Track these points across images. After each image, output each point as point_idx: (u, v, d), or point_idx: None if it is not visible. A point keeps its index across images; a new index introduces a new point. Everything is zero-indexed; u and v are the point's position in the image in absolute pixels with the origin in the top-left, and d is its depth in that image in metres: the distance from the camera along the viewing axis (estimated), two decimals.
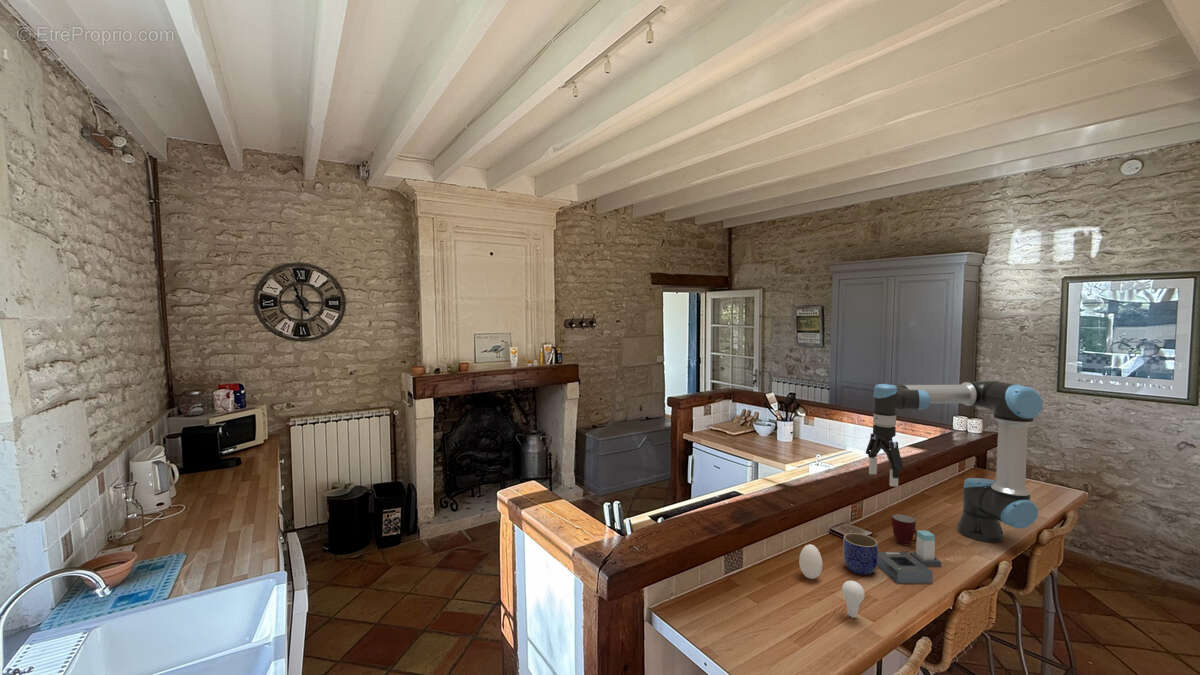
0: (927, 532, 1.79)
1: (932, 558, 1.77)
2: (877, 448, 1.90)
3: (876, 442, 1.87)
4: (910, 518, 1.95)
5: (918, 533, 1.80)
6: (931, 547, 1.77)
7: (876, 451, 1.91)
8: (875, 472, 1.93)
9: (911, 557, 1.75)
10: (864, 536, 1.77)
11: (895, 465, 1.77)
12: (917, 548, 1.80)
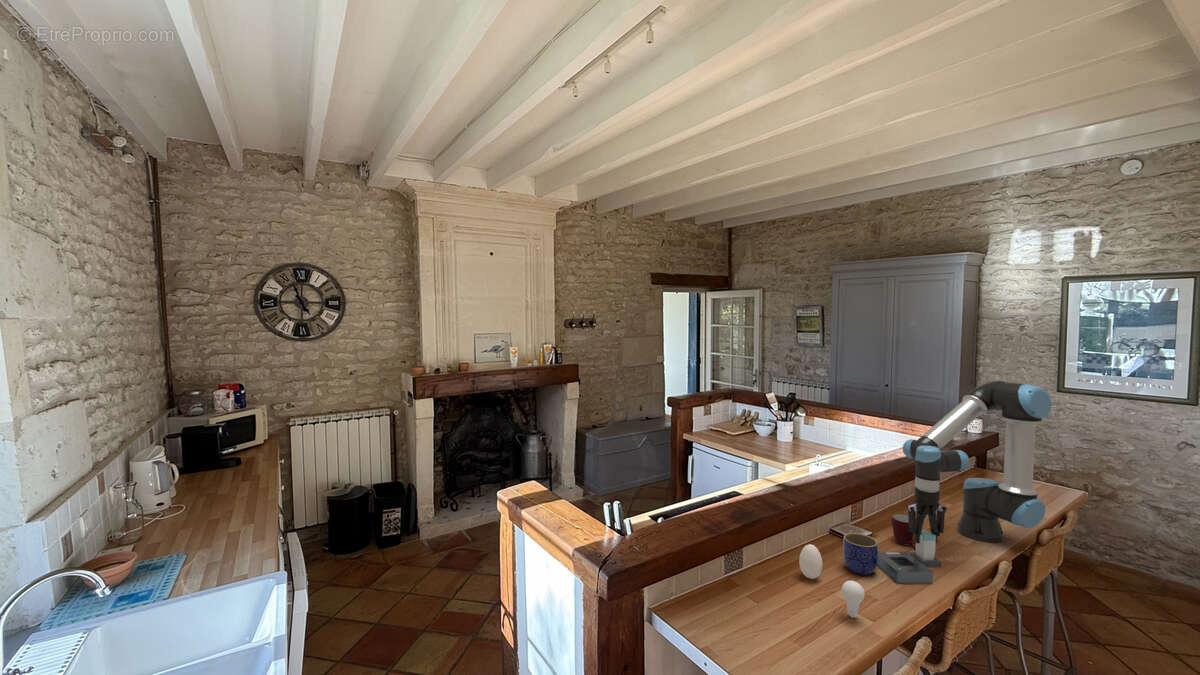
0: (927, 532, 1.79)
1: (932, 558, 1.77)
2: (929, 517, 1.79)
3: None
4: None
5: None
6: (931, 547, 1.77)
7: (931, 522, 1.79)
8: None
9: (911, 557, 1.75)
10: (864, 536, 1.77)
11: None
12: None
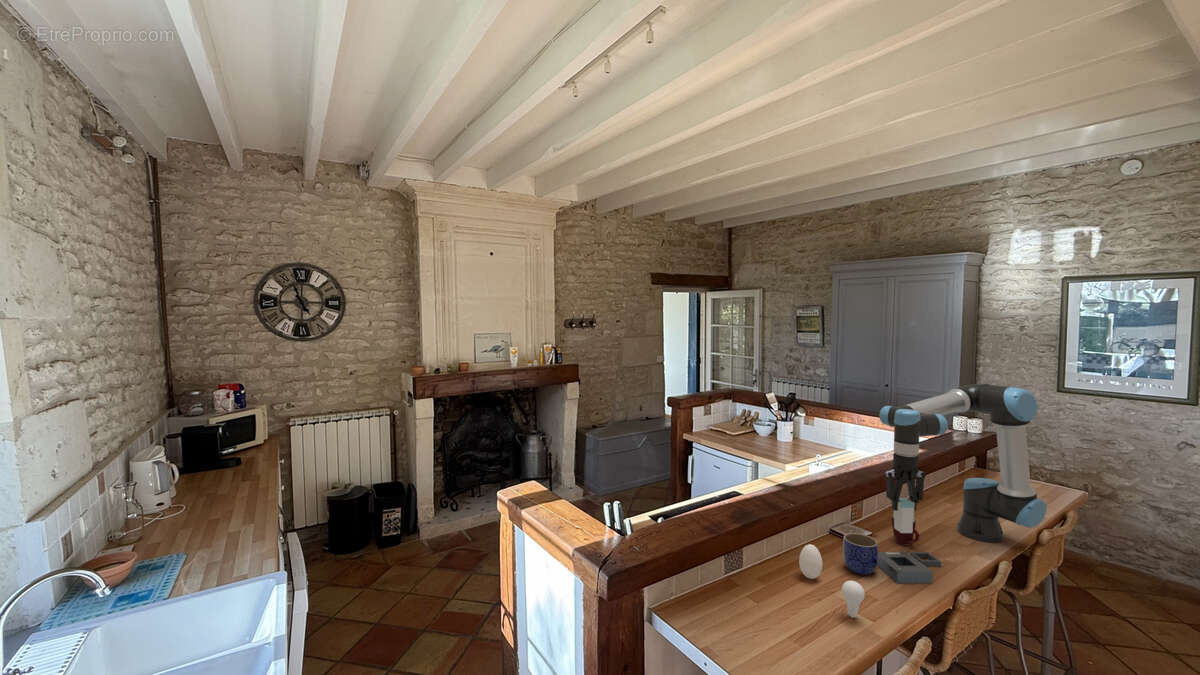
0: (906, 499, 1.72)
1: (910, 526, 1.70)
2: (908, 483, 1.71)
3: None
4: None
5: None
6: (909, 514, 1.69)
7: (909, 488, 1.71)
8: None
9: (911, 557, 1.75)
10: (864, 536, 1.77)
11: None
12: None
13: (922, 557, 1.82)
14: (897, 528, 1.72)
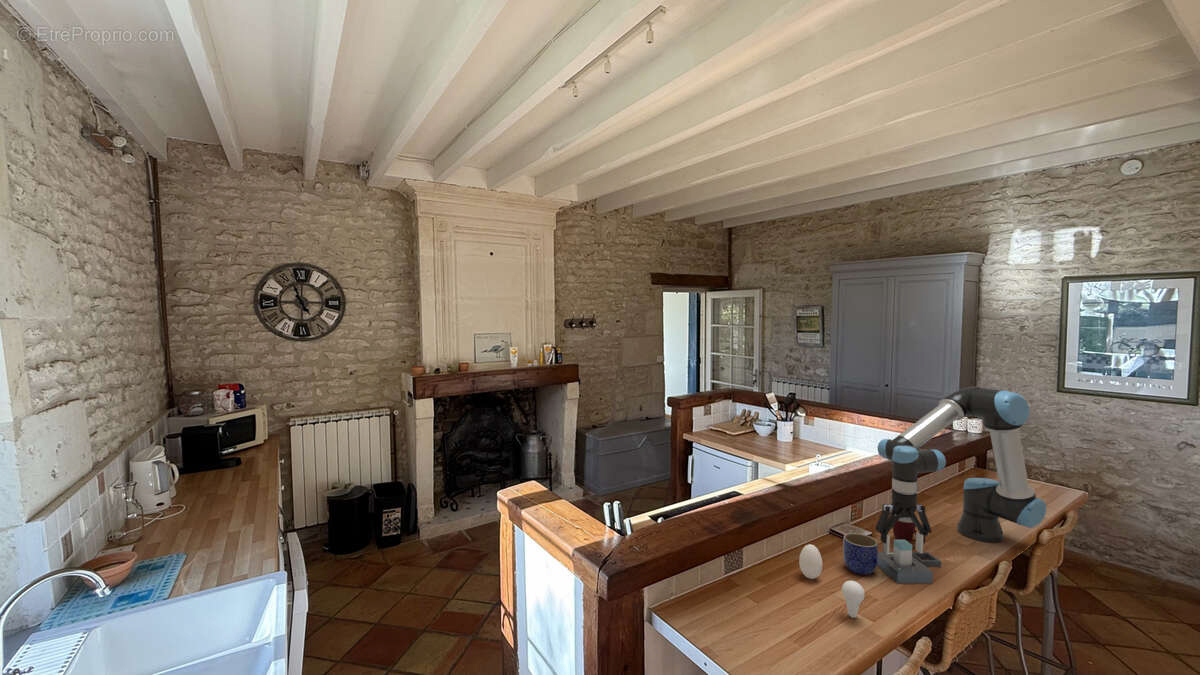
0: (904, 541, 1.72)
1: None
2: (911, 519, 1.72)
3: None
4: None
5: (895, 542, 1.73)
6: (908, 556, 1.70)
7: (914, 523, 1.72)
8: (919, 550, 1.71)
9: None
10: (864, 536, 1.77)
11: None
12: (894, 558, 1.73)
13: (922, 557, 1.82)
14: None
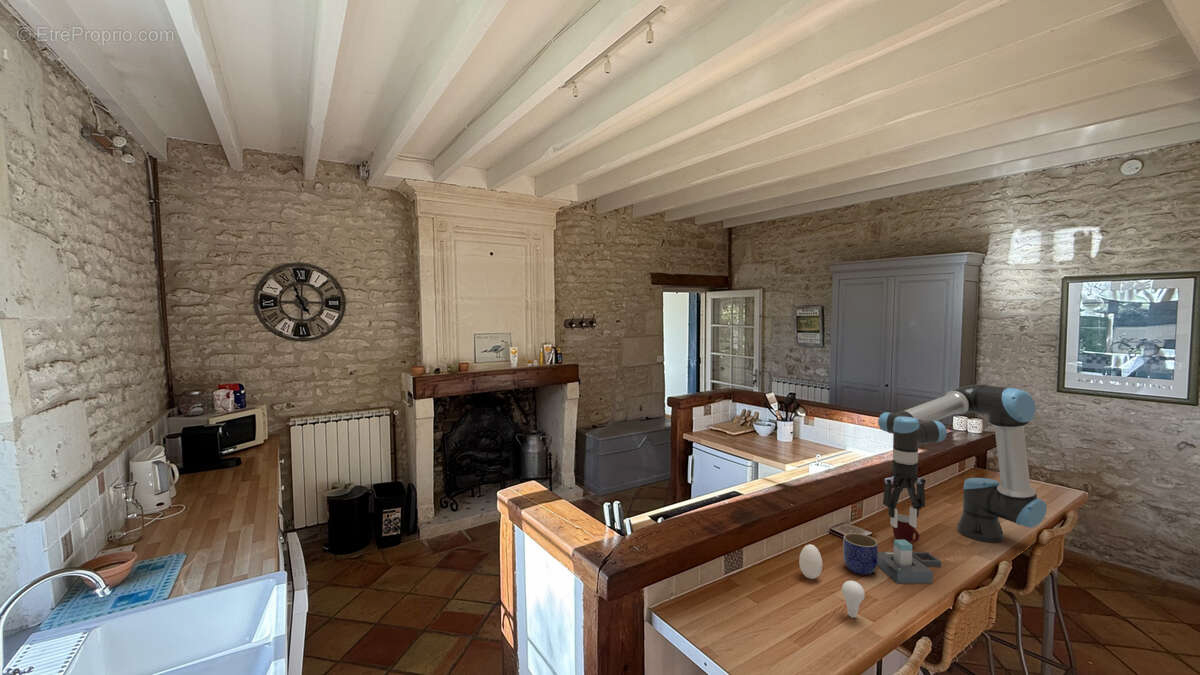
0: (904, 541, 1.72)
1: None
2: (909, 491, 1.71)
3: None
4: None
5: (895, 542, 1.73)
6: (908, 556, 1.70)
7: (911, 495, 1.71)
8: (913, 525, 1.71)
9: None
10: (864, 536, 1.77)
11: None
12: (894, 558, 1.73)
13: (922, 557, 1.82)
14: None
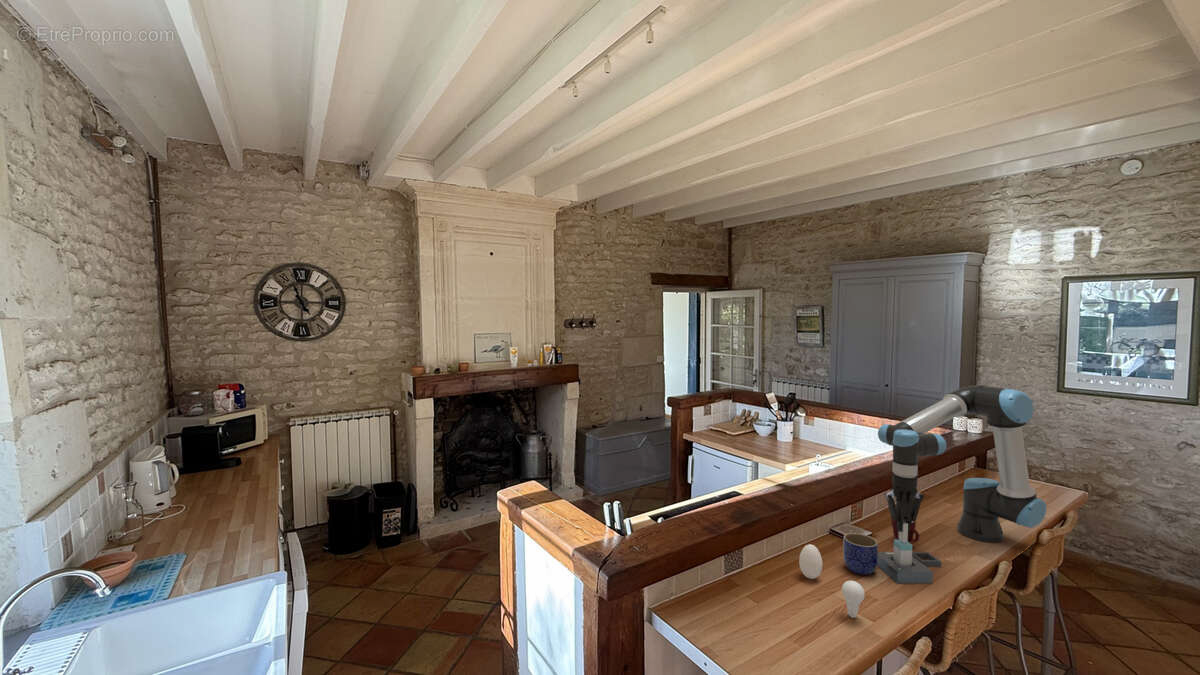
0: None
1: None
2: (905, 504, 1.71)
3: None
4: None
5: (895, 542, 1.73)
6: (908, 556, 1.70)
7: (905, 509, 1.71)
8: None
9: None
10: (864, 536, 1.77)
11: None
12: (894, 558, 1.73)
13: (922, 557, 1.82)
14: None
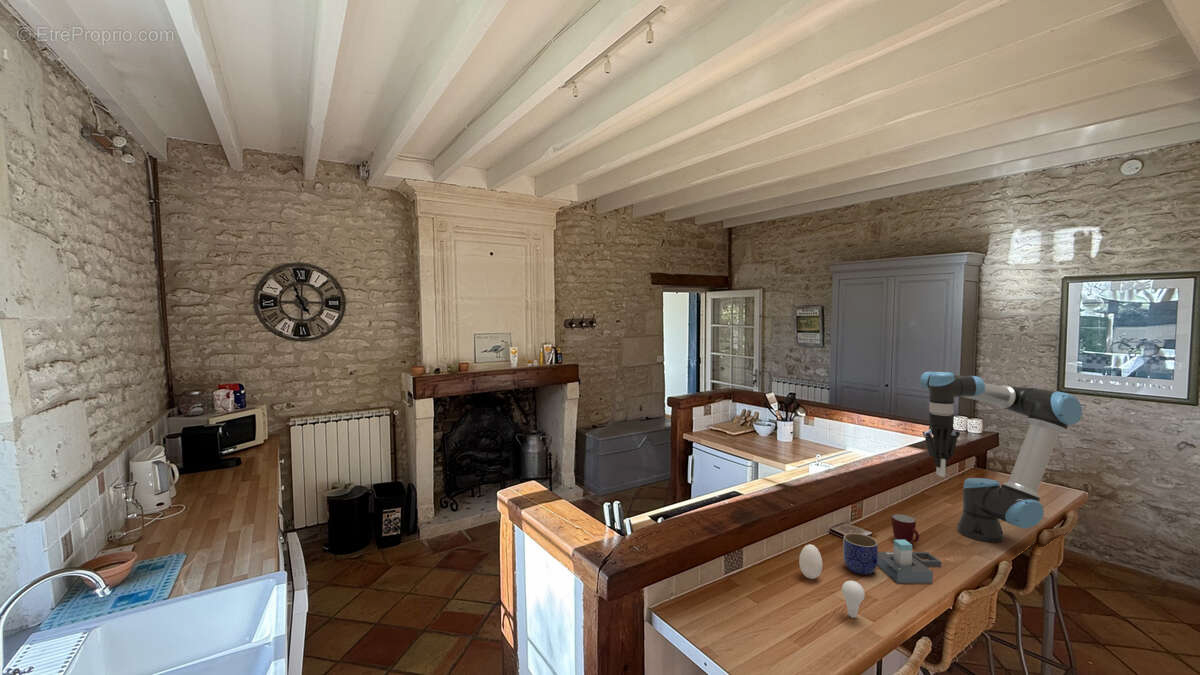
0: (904, 541, 1.72)
1: None
2: (942, 441, 1.82)
3: None
4: (910, 518, 1.95)
5: (895, 542, 1.73)
6: (908, 556, 1.70)
7: (942, 446, 1.82)
8: None
9: None
10: (864, 536, 1.77)
11: None
12: (894, 558, 1.73)
13: (922, 557, 1.82)
14: None
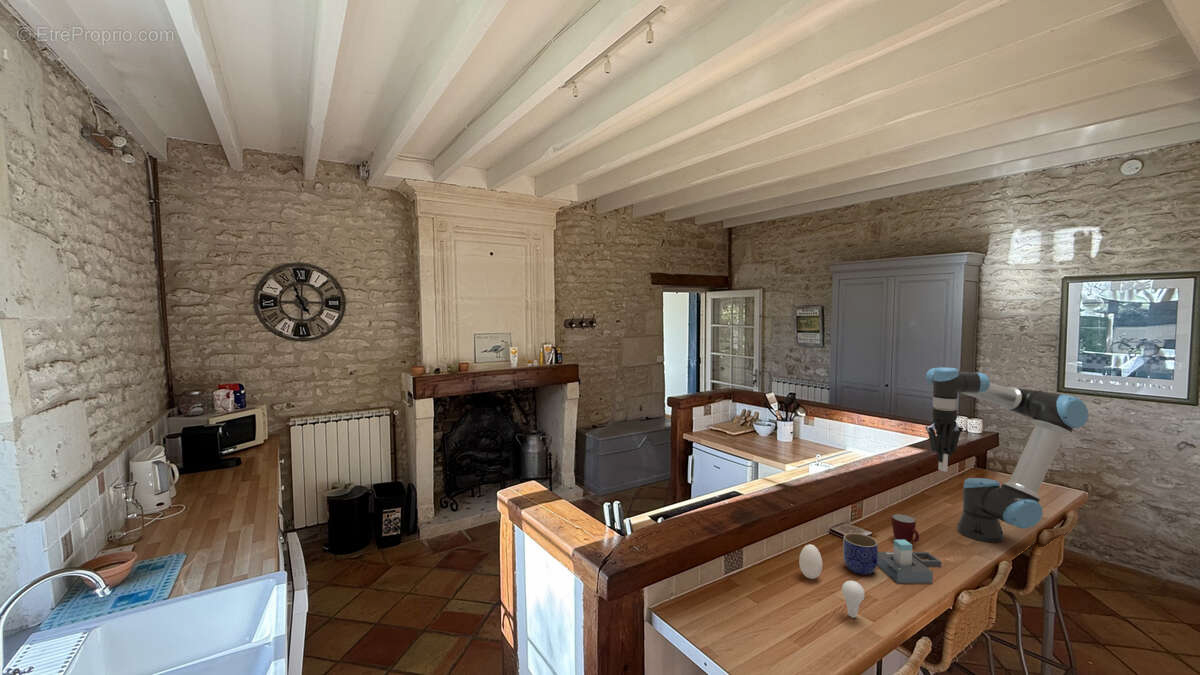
0: (904, 541, 1.72)
1: None
2: (945, 436, 1.84)
3: None
4: (910, 518, 1.95)
5: (895, 542, 1.73)
6: (908, 556, 1.70)
7: (945, 441, 1.83)
8: None
9: None
10: (864, 536, 1.77)
11: None
12: (894, 558, 1.73)
13: (922, 557, 1.82)
14: None
